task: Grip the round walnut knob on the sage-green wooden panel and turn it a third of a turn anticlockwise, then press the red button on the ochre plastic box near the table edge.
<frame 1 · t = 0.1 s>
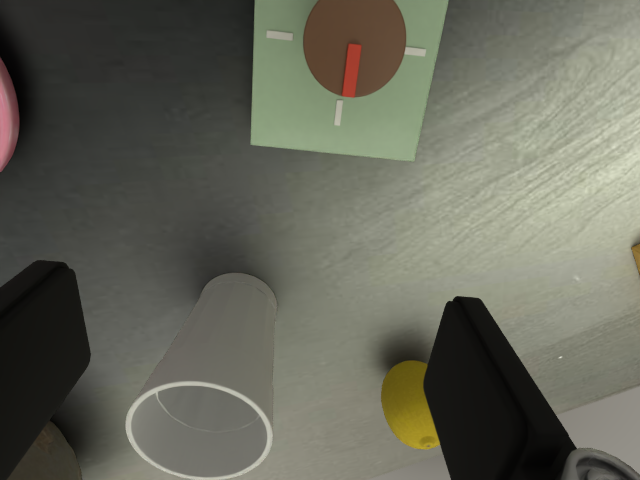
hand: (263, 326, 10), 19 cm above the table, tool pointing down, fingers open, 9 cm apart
panel: (343, 43, 24), on the table
ceramic bowl: (14, 434, 39), on the table
knob: (350, 43, 19), point 6 cm above the table, hinge at 0.0°
cup: (239, 304, 33), on the table
lemon: (405, 363, 36), on the table
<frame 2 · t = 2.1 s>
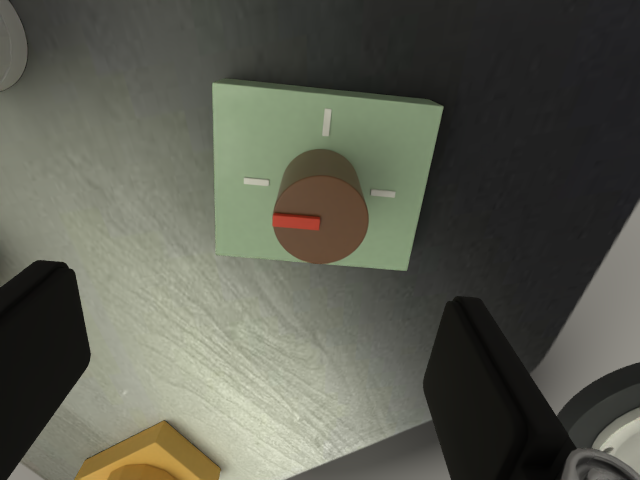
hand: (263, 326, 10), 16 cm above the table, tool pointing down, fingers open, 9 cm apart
panel: (319, 172, 25), on the table
button box: (153, 464, 38), on the table
knob: (320, 204, 20), point 6 cm above the table, hinge at 0.0°
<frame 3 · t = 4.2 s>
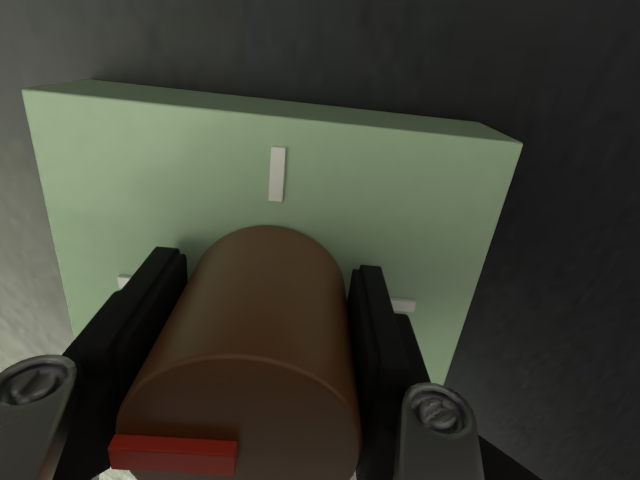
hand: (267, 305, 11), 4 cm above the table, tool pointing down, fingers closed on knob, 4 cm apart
panel: (278, 245, 14), on the table
knob: (257, 357, 9), point 6 cm above the table, hinge at 0.2°, touching gripper
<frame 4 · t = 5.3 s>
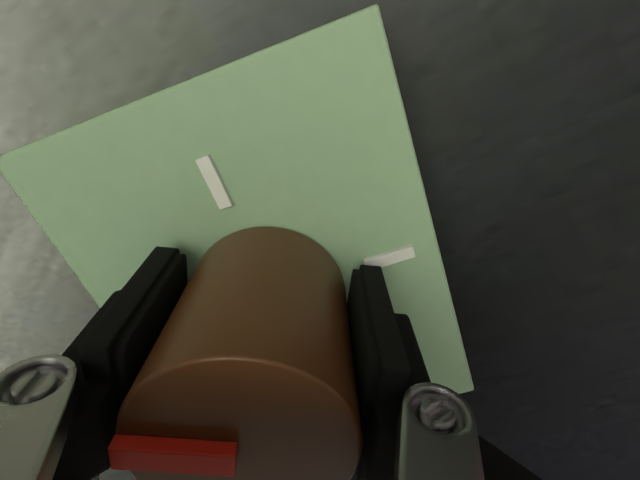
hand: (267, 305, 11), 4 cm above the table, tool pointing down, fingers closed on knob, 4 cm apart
panel: (278, 246, 14), on the table
knob: (257, 358, 9), point 6 cm above the table, hinge at 64.2°, touching gripper
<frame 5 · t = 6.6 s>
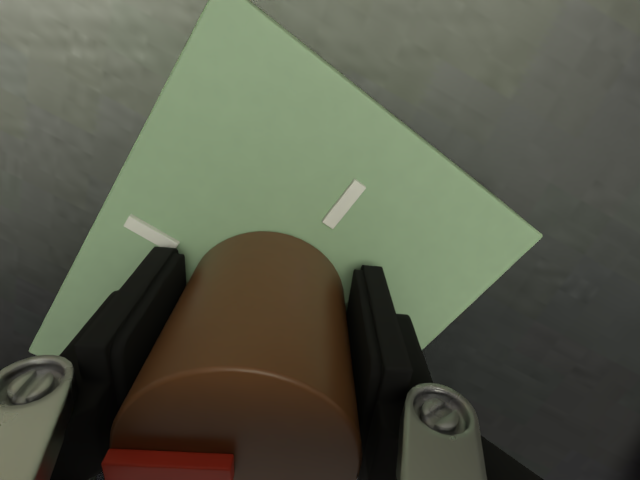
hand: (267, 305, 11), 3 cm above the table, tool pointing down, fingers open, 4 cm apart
panel: (277, 250, 14), on the table
knob: (255, 366, 9), point 6 cm above the table, hinge at 120.9°
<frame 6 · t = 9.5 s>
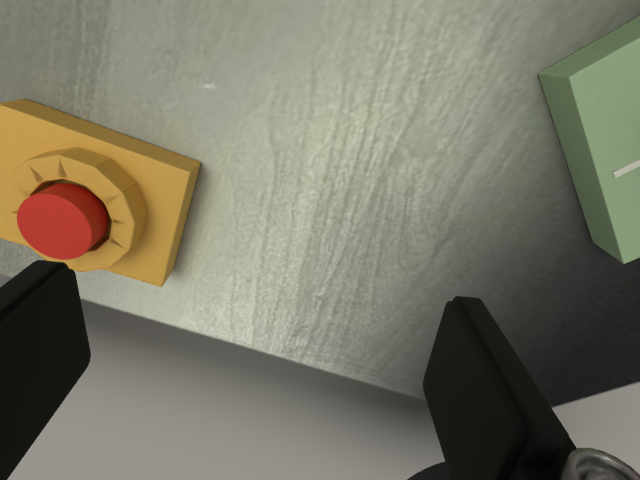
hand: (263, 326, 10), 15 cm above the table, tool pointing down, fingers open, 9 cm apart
button: (64, 221, 20), point 4 cm above the table, slide at 0.1 cm
button box: (106, 192, 24), on the table
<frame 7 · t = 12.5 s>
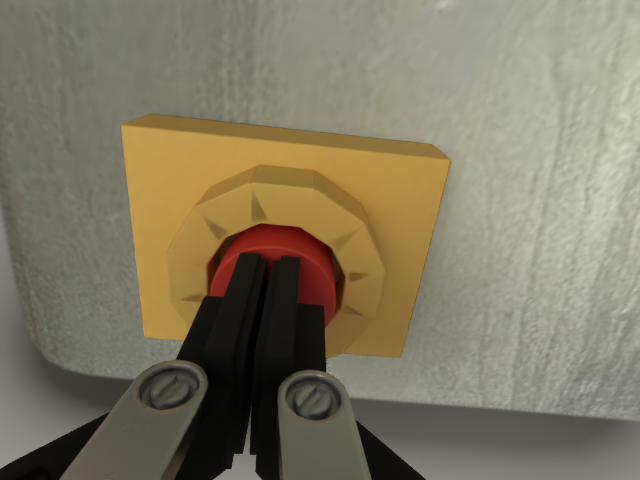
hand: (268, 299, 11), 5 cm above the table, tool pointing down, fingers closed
button: (276, 285, 12), point 4 cm above the table, slide at -0.5 cm, touching gripper
button box: (285, 232, 16), on the table
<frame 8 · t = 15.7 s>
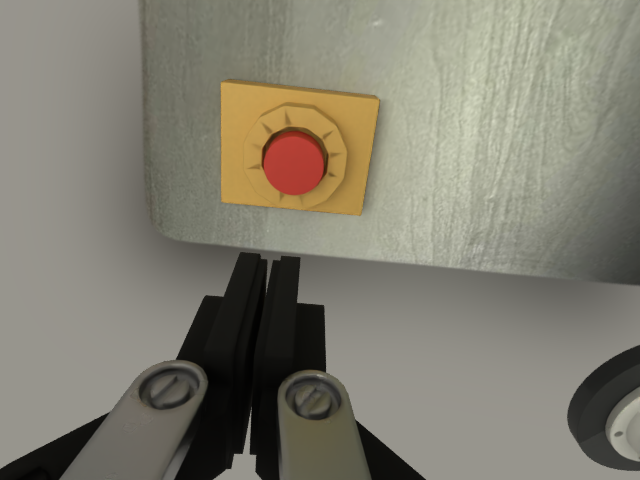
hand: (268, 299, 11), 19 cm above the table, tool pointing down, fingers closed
button: (294, 163, 24), point 4 cm above the table, slide at 0.1 cm
button box: (297, 146, 28), on the table
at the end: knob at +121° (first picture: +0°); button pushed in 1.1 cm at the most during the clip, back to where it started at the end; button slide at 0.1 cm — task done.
